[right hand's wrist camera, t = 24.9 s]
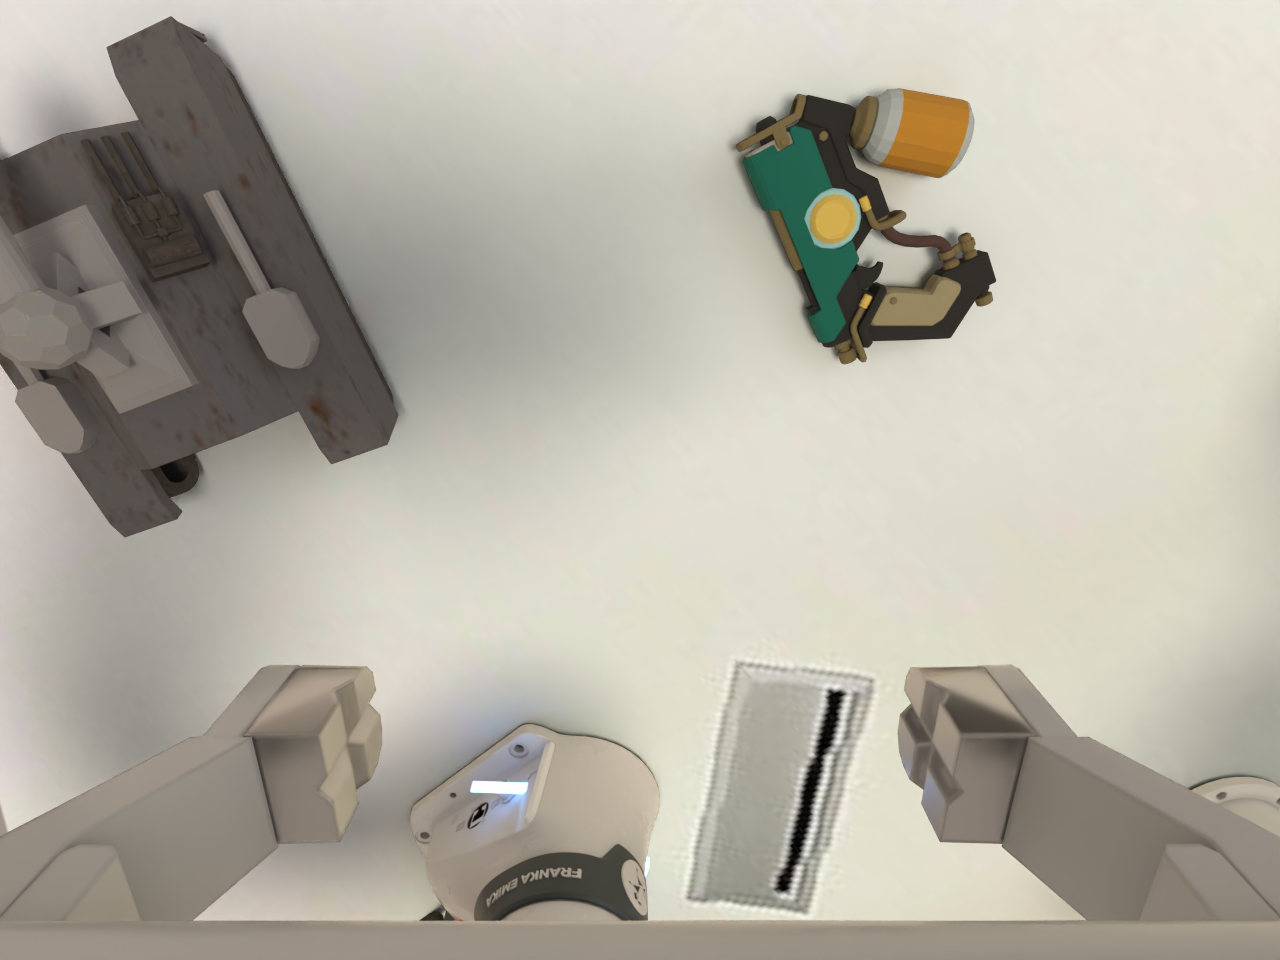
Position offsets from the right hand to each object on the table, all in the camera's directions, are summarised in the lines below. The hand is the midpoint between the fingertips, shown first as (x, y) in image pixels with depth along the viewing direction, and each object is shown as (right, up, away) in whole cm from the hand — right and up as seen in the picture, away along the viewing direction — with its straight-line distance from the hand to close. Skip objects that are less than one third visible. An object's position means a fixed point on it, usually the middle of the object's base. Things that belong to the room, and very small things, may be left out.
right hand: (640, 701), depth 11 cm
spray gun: (+14, +20, +35) cm, 43 cm away
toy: (-30, +15, +36) cm, 50 cm away
